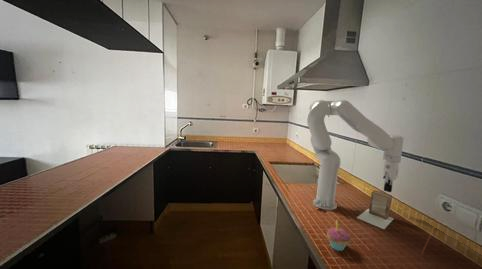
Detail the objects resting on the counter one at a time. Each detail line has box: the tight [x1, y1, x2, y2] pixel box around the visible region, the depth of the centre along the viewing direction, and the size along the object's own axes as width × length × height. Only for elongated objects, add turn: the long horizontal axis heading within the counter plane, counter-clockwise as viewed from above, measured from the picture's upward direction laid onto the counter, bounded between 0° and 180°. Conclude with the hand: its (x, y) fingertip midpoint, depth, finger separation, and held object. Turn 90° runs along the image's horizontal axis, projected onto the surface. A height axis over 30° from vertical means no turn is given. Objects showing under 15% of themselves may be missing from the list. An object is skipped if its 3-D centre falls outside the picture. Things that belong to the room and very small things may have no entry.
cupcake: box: [326, 219, 351, 252], centre depth 80 cm, size 9×8×12 cm
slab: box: [368, 189, 393, 220], centre depth 106 cm, size 4×8×12 cm, turn 40°
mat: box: [356, 208, 395, 230], centre depth 104 cm, size 16×12×1 cm
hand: (387, 191), depth 110 cm, fingers closed
